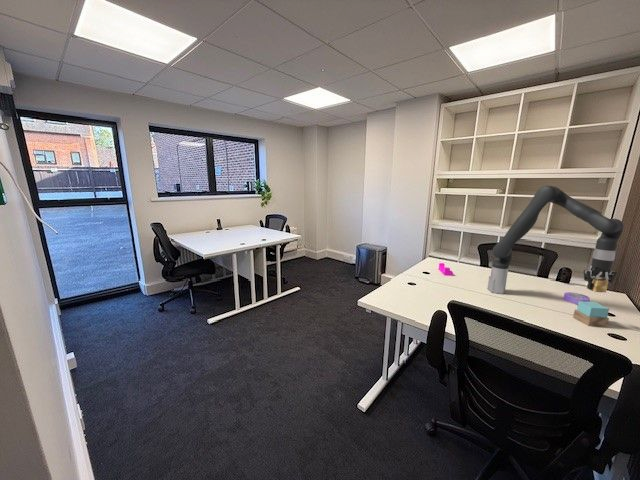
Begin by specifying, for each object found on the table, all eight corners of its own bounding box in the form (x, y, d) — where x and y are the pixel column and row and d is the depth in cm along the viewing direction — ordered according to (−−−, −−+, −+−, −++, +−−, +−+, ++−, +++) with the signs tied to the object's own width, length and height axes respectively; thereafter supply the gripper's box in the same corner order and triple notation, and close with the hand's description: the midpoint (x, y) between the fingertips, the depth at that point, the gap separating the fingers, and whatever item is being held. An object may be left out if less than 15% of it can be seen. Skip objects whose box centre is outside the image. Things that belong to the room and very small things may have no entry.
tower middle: (589, 316, 136) (591, 307, 135) (576, 309, 143) (578, 301, 142) (607, 317, 135) (609, 308, 134) (593, 310, 142) (595, 302, 141)
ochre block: (595, 292, 134) (597, 280, 133) (586, 288, 139) (588, 277, 138) (605, 292, 134) (608, 281, 133) (596, 288, 139) (599, 278, 138)
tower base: (588, 326, 136) (590, 317, 135) (573, 317, 145) (574, 309, 144) (606, 327, 135) (608, 318, 134) (590, 318, 144) (592, 310, 143)
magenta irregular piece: (452, 277, 209) (453, 268, 207) (444, 277, 210) (445, 268, 208) (446, 271, 224) (446, 263, 222) (438, 271, 224) (439, 262, 223)
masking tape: (568, 303, 162) (570, 297, 162) (559, 296, 173) (560, 291, 172) (593, 306, 158) (594, 300, 158) (582, 299, 169) (583, 293, 168)
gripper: (594, 259, 130) (587, 291, 134) (626, 260, 129) (618, 293, 132) (581, 255, 138) (574, 286, 141) (611, 256, 136) (604, 287, 139)
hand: (596, 289), depth 136 cm, fingers closed on ochre block, 5 cm apart
